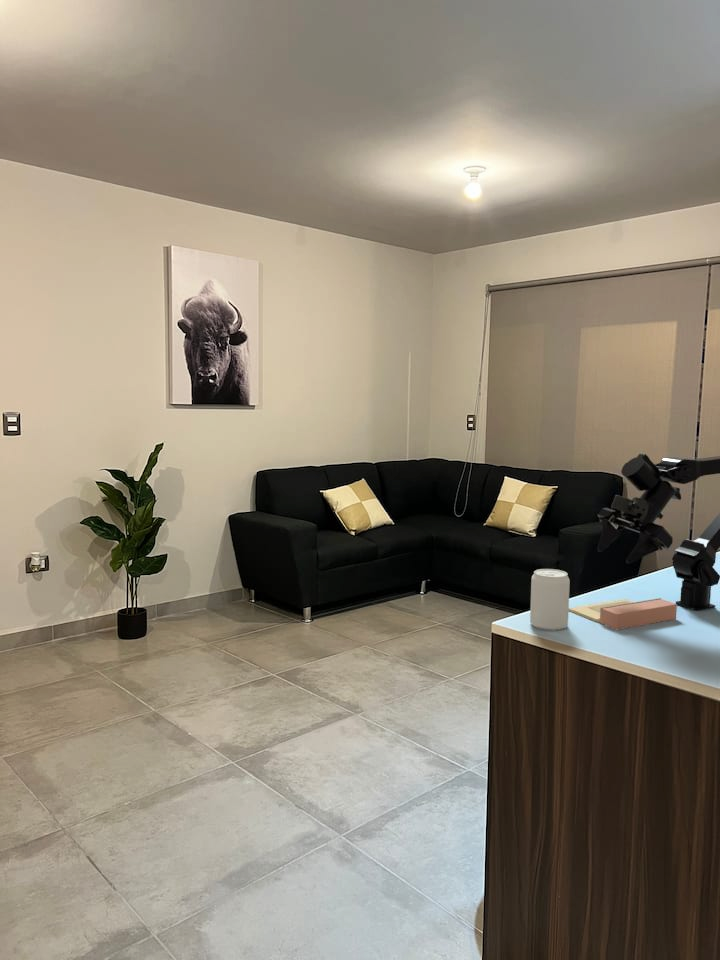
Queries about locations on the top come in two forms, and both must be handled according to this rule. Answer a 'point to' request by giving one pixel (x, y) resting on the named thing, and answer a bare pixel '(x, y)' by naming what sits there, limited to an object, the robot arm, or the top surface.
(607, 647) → the top surface
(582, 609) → the tan rectangular slab
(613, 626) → the pink long block
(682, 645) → the top surface
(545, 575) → the beverage can
